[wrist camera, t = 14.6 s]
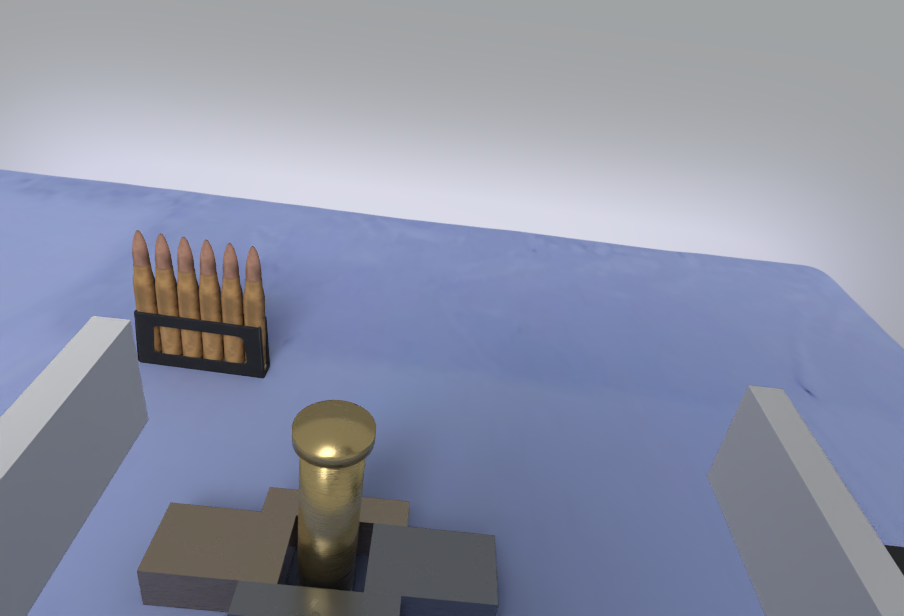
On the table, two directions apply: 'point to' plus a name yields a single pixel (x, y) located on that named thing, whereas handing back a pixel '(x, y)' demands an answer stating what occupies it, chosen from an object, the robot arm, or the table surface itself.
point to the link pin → (330, 490)
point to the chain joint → (271, 552)
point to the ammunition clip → (199, 311)
